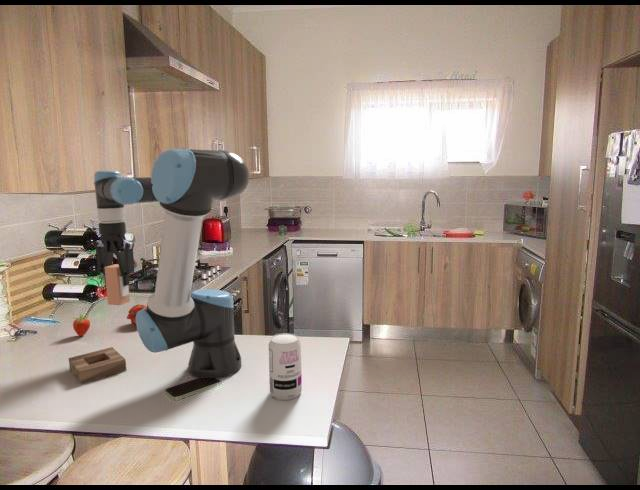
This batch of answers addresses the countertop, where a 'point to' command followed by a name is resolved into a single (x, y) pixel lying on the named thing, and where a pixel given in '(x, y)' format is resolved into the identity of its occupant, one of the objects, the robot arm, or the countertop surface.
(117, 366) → the socket
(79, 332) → the fruit
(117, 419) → the countertop surface
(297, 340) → the supplement can
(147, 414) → the countertop surface
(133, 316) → the dragon fruit
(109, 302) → the peg
